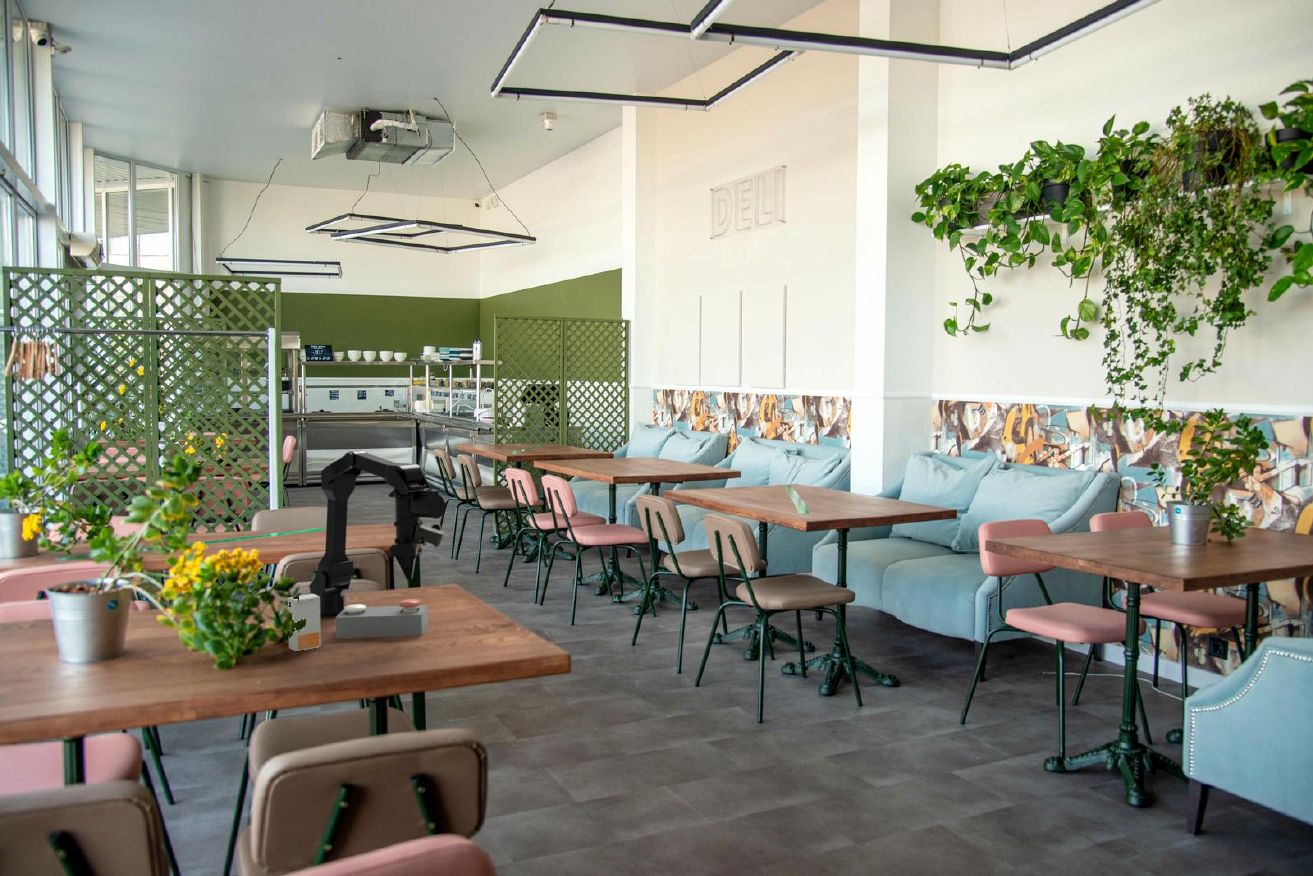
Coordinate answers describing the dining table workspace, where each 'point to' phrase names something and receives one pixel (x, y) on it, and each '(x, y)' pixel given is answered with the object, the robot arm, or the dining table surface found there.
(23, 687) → the dining table surface
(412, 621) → the block
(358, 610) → the white plunger
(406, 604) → the red plunger
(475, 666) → the dining table surface
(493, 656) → the dining table surface
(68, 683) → the dining table surface
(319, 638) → the skincare box
